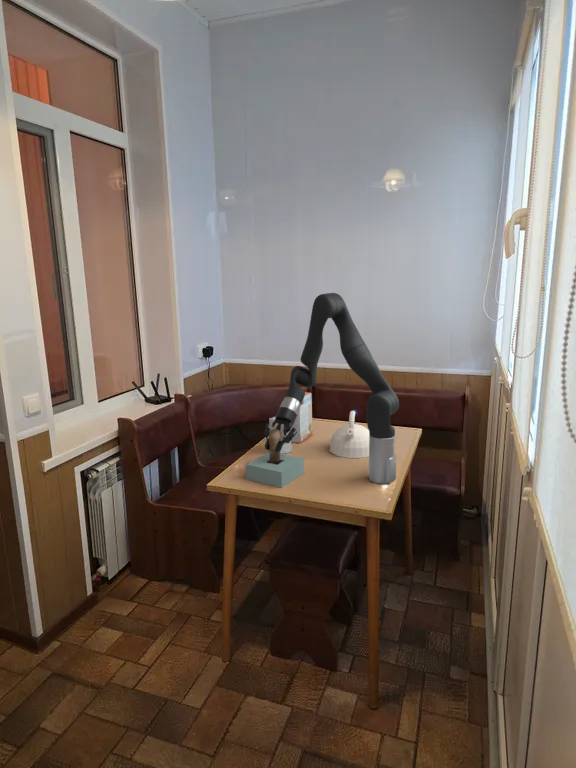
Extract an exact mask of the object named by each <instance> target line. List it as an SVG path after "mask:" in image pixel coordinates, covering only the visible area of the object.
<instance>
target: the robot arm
mask: <svg viewBox="0 0 576 768" xmlns="http://www.w3.org/2000/svg"><path fill="white" fill-rule="evenodd" d="M346 304H347V303H346V302H345V300H344V299H343V297H342V296H341V295H340V294H338V293H336V292H327V293H321V294H319V295H317V296H316V298H315V299H314V301H313V304H312V310H311V314H310V321H309V327H308V333H307V337H306V341H305V344H304V347H303V349H302V353H301V356H300V362H301V364H303V365H304V366H305V367H307V368H305V367H303V366H301V365H296V366H294V367H293V368H292V369H291V371H290V377H289V385H288V389H287V391H286V393H285V396H284V398H283V400H282V402H281V403H280V406H279V408H278V410H277V412H276V415H275V416H274V417H275V421H274V422H273V423H272V424H270V423H269V422H266V423H265V425H264V426H265V427H264V434H263V435H264V438H266V441H265V443H264V449H265V450H266V451H269V430H271V429H272V427H273V429H277V430H279V431H280V441H278V443H277V446H276V448H275V451H276V452H279V451H281V449H282V446H283V444H284V443H289V442H290V441H291V440H292V439H293V437H294V436H295V435H296V433H297V430H296V429H295V428H292V425H293V424H294V422H295V420H296V417H297V415H298V412H299V410H300V406H301V404H302V401H303V399H304V396H305V392H306V391H305V390H304V389H303V388H302V387H300V386H303V387H305V388H306V389H307V388H308V389H311V388H313V387H314V386H315V385H316V382H317V370H318V363H319V360H320V357H321V354H322V351H323V348H324V347H323V346H324V339H323V332H324V328H325V325H326V323H327V321H328V319H332V321H333V323H334V325H335V327H336V329H337V331H338V334H339V343H340V344H339V346H340V351H341V354H342V356H343V358H344V360H345V362H346V364H347V365H348V367H349V368H350V370H351V371H352V372H354V373H355V374H356V376H358V377H359V378H360V379H361V380H362V381H364V383H366V385H367V386H368V388H369V390H370V392H371V394H372V395H371V396H370V397H369V398H368V400H367V403H366V424H367V429H368V430H369V456H368V480H369V481H370V482H373V483H375V484H381V485H382V484H383V485H384V484H387V485H388V484H389V485H390V484H392V483H393V482H394V481H395V480H396V479H397V477H396V475H397V454H395V443H396V441H395V440H396V439H395V438H396V437H395V436H396V429H395V427H394V426H392V425H391V416H392V415H394V414H396V412H398V410H399V409H400V399H399V398H398V395H397V394H396V392H395V391H394V390H393V388H392V387H391V386H390V384H389V383H388V381H387V380H386V378H385V377H384V374H383V373H382V371H381V369H380V368H379V366H378V364H377V363H376V361H375V359H374V358H373V356H372V353H371V351H370V349H369V347H368V346H367V343H365V341H364V339H363V338H362V335H361V334H360V332H359V330H358V328H357V326H356V325H355V322H354V321H353V319H352V316H351V314H350V310H349V309H348V307H347V305H346ZM289 431H290V432H289ZM288 432H289V433H288ZM287 433H288V435H287Z"/></svg>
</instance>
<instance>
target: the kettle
mask: <svg viewBox="0 0 576 768" xmlns="http://www.w3.org/2000/svg"><path fill="white" fill-rule="evenodd" d="M358 415H359V414H358V411H357V409H351V410H350V412H349V418H348V423H347V424H343V425H342V426H340V427H339V428H337V429H336V431H334V433H332V436H331V438H330V441H329V442H330V445H329V452H330V453H331V454H333V455H334V454H335V455H334V456H337V457H340V456H341V457H340V458H345V457H347V458H346V459H363V458H366V457H367V458H369V429H368V427H365V426H363V425H361V424H357V423H356V422H355V417H356V416H358ZM362 457H363V458H362Z"/></svg>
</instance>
